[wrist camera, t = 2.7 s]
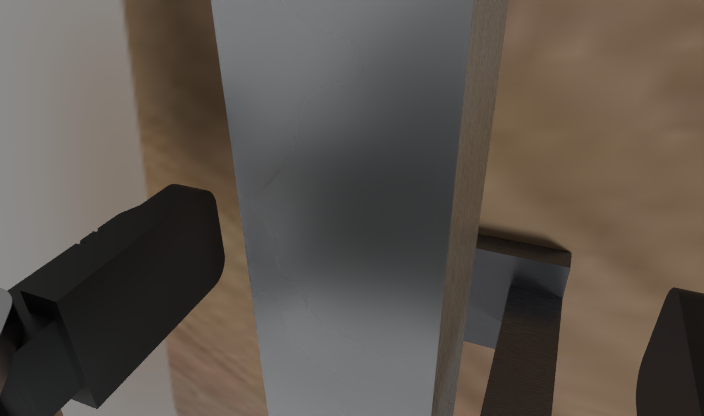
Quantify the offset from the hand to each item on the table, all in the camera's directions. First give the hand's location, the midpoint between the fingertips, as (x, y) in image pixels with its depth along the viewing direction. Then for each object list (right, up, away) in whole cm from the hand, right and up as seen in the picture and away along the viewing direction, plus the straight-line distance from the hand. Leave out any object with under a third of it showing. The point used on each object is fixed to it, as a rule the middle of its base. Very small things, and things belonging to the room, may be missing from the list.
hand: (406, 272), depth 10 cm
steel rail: (0, 0, -1) cm, 1 cm away
